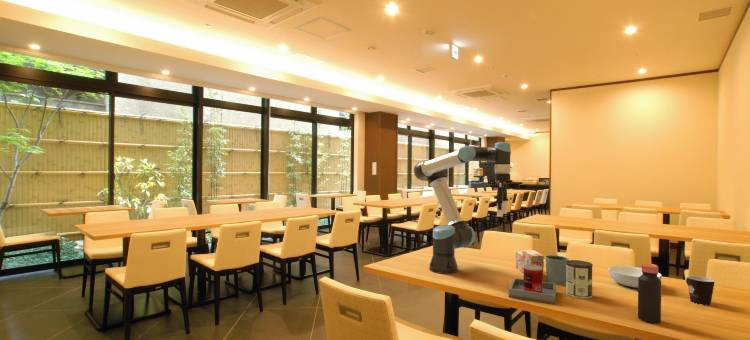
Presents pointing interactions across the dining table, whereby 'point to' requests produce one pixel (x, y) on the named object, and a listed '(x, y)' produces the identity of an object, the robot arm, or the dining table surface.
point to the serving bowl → (627, 275)
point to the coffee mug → (700, 289)
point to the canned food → (533, 278)
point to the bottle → (649, 294)
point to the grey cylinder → (556, 269)
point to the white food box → (528, 259)
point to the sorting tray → (546, 295)
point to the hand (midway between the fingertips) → (501, 215)
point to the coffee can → (579, 279)
